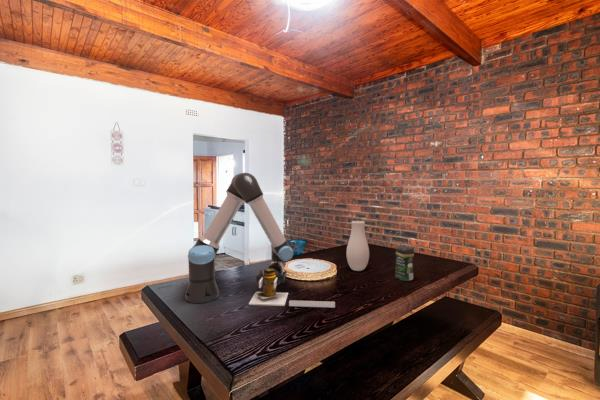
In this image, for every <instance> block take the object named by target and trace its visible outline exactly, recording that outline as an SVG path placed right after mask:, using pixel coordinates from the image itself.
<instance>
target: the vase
mask: <svg viewBox="0 0 600 400" xmlns="http://www.w3.org/2000/svg"><path fill="white" fill-rule="evenodd" d="M365 226H366V222H365V221H363V220H353V221H351V230H350V235H349V240H348V242H347V246H346V252H345V254H346V260H347V264H348V265H349V268H350V269H351V270H352V271H354V272H355V271H356V272H361V271H364V270H365V269H366V267H367V266H368V263H369V260H370V248H369V244H368V239H367V236H366V231H365V230H366V229H365Z"/></svg>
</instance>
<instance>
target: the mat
mask: <svg viewBox="0 0 600 400" xmlns="http://www.w3.org/2000/svg"><path fill="white" fill-rule="evenodd" d="M262 292H263V291H255V293H254V294H253V296H252V297H251V299H250V301H249V302H248V305H249V306H271V307H272V306H273V307H274V306H277V307H285V305H286V303H287V299H288V297H289V296H288V295H289V292H280V291H279V292H277V291H276V293H277V294H278V295H279V296H275V297H270V298H266V299H262V298H261V297H259V296H258V295H257V294H256V293H262Z"/></svg>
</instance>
